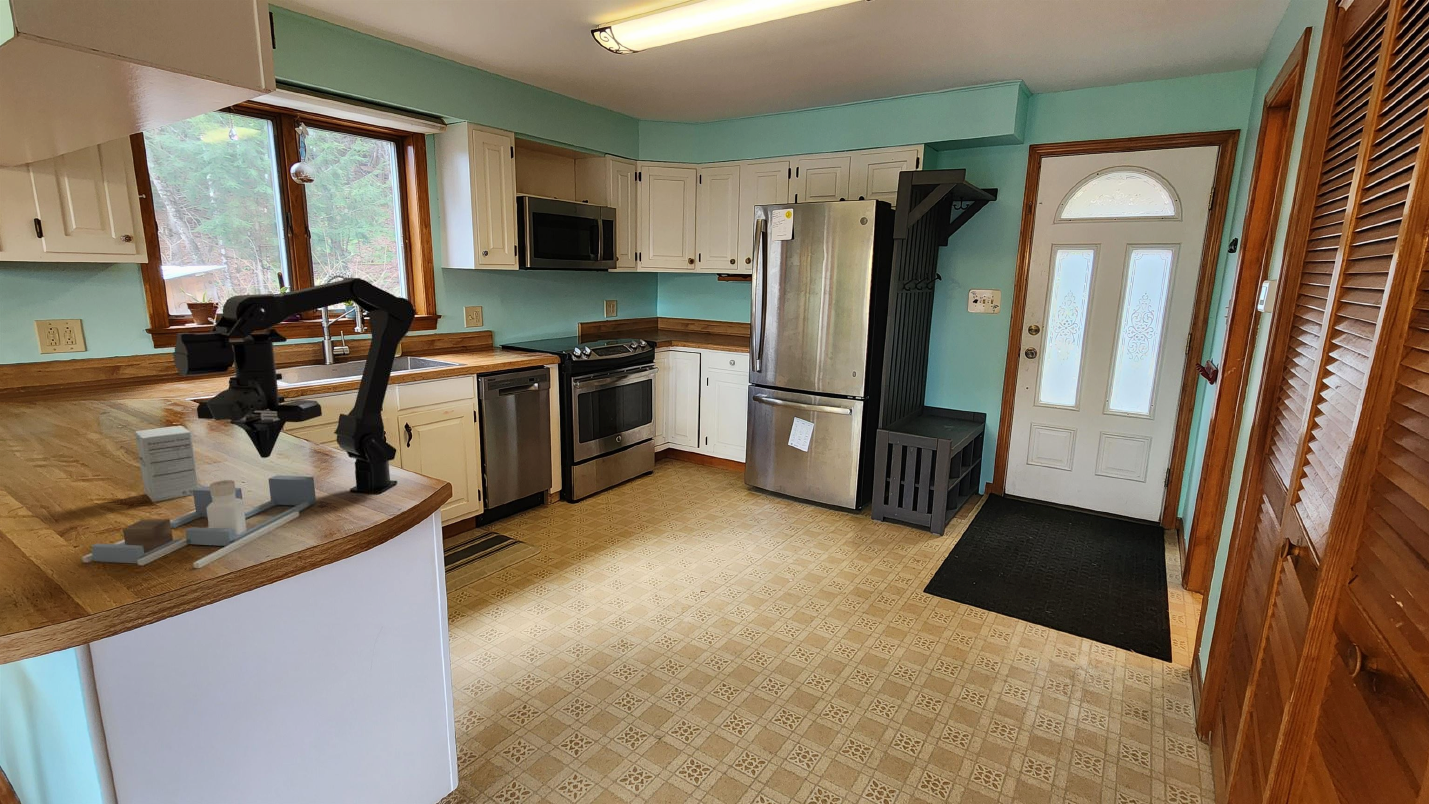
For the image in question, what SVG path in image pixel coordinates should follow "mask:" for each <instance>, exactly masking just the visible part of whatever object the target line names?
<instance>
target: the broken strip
mask: <svg viewBox="0 0 1429 804" xmlns="http://www.w3.org/2000/svg"><path fill="white" fill-rule="evenodd" d="M235 491H236V493H235V496H236V498H238V499H242V500H243V501H244V499H243V493H242V488H241V487H235ZM192 496H193V500H194V501H193V502H194V508H195V509H194V510H196V513H194V514H191V515H189V516H187V517H184V518H182V519H179V520H177V521H175V522H172V523H171V529H175V528H178V527H181V526H184V525H185V524H187V523H189V522H192V521H195V520H196V519H199V518H208V516H207V509H206V508H207V507H208V505H209V504H210V503H212V502H213V501H212V497H211V492H210V486H208V485H207V486H200V487H199V488H196V489H194V490H193V495H192ZM208 527H209V524H207V528H208ZM182 539H184V538H182V537H178V538H175V539H173V541H171V542H169V543H167V544H164V545H162V546H160V547H158V548H155V549H153V550H151V551H149V552H147V553H144V549H143V546H140V545H125V543H122V544H115V543H98V542H97V543H95V544H93V545H91V546H90V549H91V553H92V556H93V560H92V561H93V562H102V563H103V562H104V563H124V564H138V561H137V560H139V559H141V558H143V557H145V556H147V555H149V554H152V553H154V552H156V551H158V550H160V549H163V548H165V547H167V546H169V545H171V544H173V543H176V542H178V541H180V540H182Z"/></svg>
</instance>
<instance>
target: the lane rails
mask: <svg viewBox="0 0 1429 804" xmlns="http://www.w3.org/2000/svg"><path fill="white" fill-rule="evenodd" d="M249 510H251V509H249V508H248V509H246V510H244V512H246V511H249ZM194 513H196V510H195V509H194V510H192V511H189V512H186V513H184V514H182V515H179V516H177V517H175V518H173V519H170V524H171V523H172V522H175V521H177V520H179V519H182V518H184V517H187V516H189V515H191V514H194ZM298 517H300V511H298V512H293V513H291V514H289V515H287V516H285V517H283V518H281V519H279V520H277V521H275V522H273V523H271V524H269V525H267V526H265V527H263V528H261V529H259V530H257V531H255V532H253V533H251V534H249V535H247V536H246V537H244V538H242V539H240V540H238V541H236V542H234V543H232V544H230V545H228V546H224V547H222V548H220V549H218V550H216V551H214V552H212V553H210V554H208V555H206V556H204V557H203V558H202V557H201V558H200V559H198V560H196V561H195V562H193V568H194V569H200V568H203V567H205V566H206V565H209V564H210V563H212V562H214V561H215V560H218V559H220V558H222V557H224V556H226V555H228V554H229V553H231V552H233V551H236V550H237V549H239V548H241V547H243V546H245V545H247V544H249V543H251V542H252V541H254V540H256V539H258V538H260V537H262V536H265V535H266V534H268V533H270V532H271V531H273V530H275V529H277V528H279V527H281V526H283V525H285V524H287V523H289V522H291V521H292V520H294V519H296V518H298ZM207 528H209V527H208V526H207ZM122 543H125V540H124V539H122V540H121V541H120V540H119V541H116V542H115V543H114V544H122ZM187 545H189V544H187V540H186V537H185V538H183V539H182V540H180V541H178V542H176V543H173V544H171V545H169V546H167V547H165V548H163V549H160V550H158V551H156V552H154V553H152V554H149V555H147V556H145V557H143V558H141V559H139V560H137V561H138V563H137V565H138V566H145V565H147V564H149V563H151V562H153V561H156V560H158V559H160V558H161V557H164V556H166V555H168V554H170V553H173V552H174V551H177V550H179V549H181V548H183V547H185V546H187ZM81 560H82V563H90V562H92V561H93V556H92V552H91V553H88V554H86V555H84V556H82V557H81Z"/></svg>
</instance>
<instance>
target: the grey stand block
mask: <svg viewBox="0 0 1429 804" xmlns="http://www.w3.org/2000/svg"><path fill="white" fill-rule="evenodd" d="M314 479H315V478H314V476H303V475H302V476H298V475H279V474H278V475H274V476H271V477H269V478H268V487H269V495H270V500H269V501H266V502H264V503H261V504H259V505H258V506H255V507H253V508H251V509H250V510H249V511H246V510H245V511H246V512H244V514H245V519H247V518H249V517H252V516H254V515H256V514H258V513H260V512H262V511H264V510H266V509H268V508H271V507H273V506H275V505H279V506H281V505H282V506H294V507H291V508H289V509H287V510H286V511H284V512H282V513H279V514H278V515H275V516H274V517H271V518H269V519H267V520H265V521H263V522H262V523H259V524H258V525H255V526H253V527H252V528H250V529H247V531H245V532H243V533H241V534H239V535H237V536H235V535H234V529H216V528H208V527H197V526H196V527H194V526H193V527H188V528H186V529H184V532H185V538H186V540H187V544H188V545H201V546H202V545H203V546H221V547H222V546H224V547H226V546H228V545H230V544H232V543H234V542H236V541H238V540H240V539H242V538H244V537H246V536H247V535H249V534H251V533H253V532H255V531H257V530H259V529H261V528H263V527H265V526H267V525H269V524H271V523H273V522H275V521H277V520H279V519H281V518H283V517H285V516H287V515H289V514H291V513H293V512H300V511H302V510H304V509H306V508H308V507H310V506H311V505H314V504H316V503H317V498H316V497H317V496H316V490H315V480H314Z"/></svg>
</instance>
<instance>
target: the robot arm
mask: <svg viewBox="0 0 1429 804" xmlns="http://www.w3.org/2000/svg"><path fill="white" fill-rule="evenodd" d="M351 301H352V302H353V303H354V304H356V305H357V306H358V307H359V308H360V309H362V310H364V311H365V312H367V313H368V314H369V318H368V325H369V330H370V335H371V341H370V344H369V349H368V353H367V357H366V360H365V364H364V368H363V371H362V372H363V373H362V376H361V380H360V384H359V388H358V390H357V391H358V392H357V394H356V395H357V396H356V398H355V403H354V406H353V408H351V410H350V411H349V412H348V413H347V414H344V413H340V414H339V417H338V424H337V427H336V429H335V430H334V431H333V434H335V435H336V440H335V441H336V443H337V444H338V446H339V448H340V449H342V450H343V451H344V452H346V454H347V456H348V457H349V458H352V459H355V462H354V469H355V470H354V475H355V486H353V487H352V488H351V487H350V489H349V492H352V493H371V494H372V493H373V494H381V493H383V492H384V491H387V490H388V489H389V488H391V487H393V486H396V485H397V484H398V480H392V479H391V475H390V462H391V461H393V460H395V457H396V454H397V449H396V448H395V447H394V446H393V445H391V444H390V443H388V442H387V441H386V440H384V434H385V425H384V421H383V415H382V408H383V405H384V401H385V397H386V393H387V389H388V385H389V381H390V378H391V373H392V370H393V367H394V362H395V358H396V354H397V351H398V347H399V343H400V342H401V341H402V339H403V338H405V336H407V334H408V333H409V332H410V329H411V327H412V324H413V323H414V320H415V316H416V308H415V307H414V306H413V304H412V302H411V301H410V300H409V299H407V298H406V297H401V296H400V297H398V296H395V295H394V294H392V293H390V292H388V291H386V290H384V289H382V288H380V287H378V286H375V285H373V284H371V283H370V282H369V281H367V280H365V278H361V277H346V278H344V279H341V280H338V281H333V282H328V283H324V284H319V285H315V286H310V287H305V288H300V289H296V290H292V291H287V292H282V293H265V294H263V293H261V294H259V293H258V294H240V295H239V294H238V295H234V296H231V297H229V298H227V299H226V301H225V303H224V305H223V307H222V315H221V316H220V318H219V319H218V320H217V322H216V323H215V324H214V326H213V327H212V328H211V330H210V331H209V332H202V333H201V332H200V333H190V332H178V333H176V342H175V344H174V352H173V353H172V355H173V361H174V365H175V368H176V370H177V372H178V373H179V375H180V376H182V377H190V376H201V375H213V374H223V373H224V374H225V373H226V372H228V370H229V368H233V366H234V375H235V376H230V377H229V380H228V388H226V389H225V390H223V391H220V392H219V393H218V394H217V395H215V396H213V397H211V398H210V399H207V400H202V401H200V402H199V403H198V406H197V407H196V414H197V419H200V420H202V419H203V420H215V421H221V420H226V421H229V423H230V425H235V426H237V427H238V428H240V429H242V430H243V431H244V432H245V433H246V434H247V436H248V438H249V439H250V441H251V443H252V445H253V446H254V448H255V449H256V451H257V453H258V455H259V456H260V458H263V459H266V458H270V456H271V455H272V453H273V450H274V448H275V445H276V443H277V440H278V438H279V436H280V434H281V431H282V430H283V428H284V426H285V424H286V423H302V422H305V421H309V420H312V419H315V418H319V417H322V416H323V412H322V405H321V404H320V403H319V402H318V401H317V400H308V399H306V400H305V399H297V400H294V401H289V402H286V401H285V396H283V395H280V396H279V387H278V381H280V380H283V375H282V373H281V372H280V373H277V370H276V360H275V352H274V351H275V350H274V343H285V342H287V340H288V339H287V337H285V336H284V335H282V334H280V333H279V332H278V331H277V330H276V329H275V328H273V327H275V326H277V325H279V324H281V323H283V322H285V321H286V320H288V319H290V318H291V317H293V316H295V315H299V314H302V313H306V312H311V311H315V310H319V309H322V308H327V307H331V306H335V305H339V304H344V303H347V302H351ZM260 331H264V332H260ZM254 332H255V333H254ZM257 332H258V333H257Z"/></svg>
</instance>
